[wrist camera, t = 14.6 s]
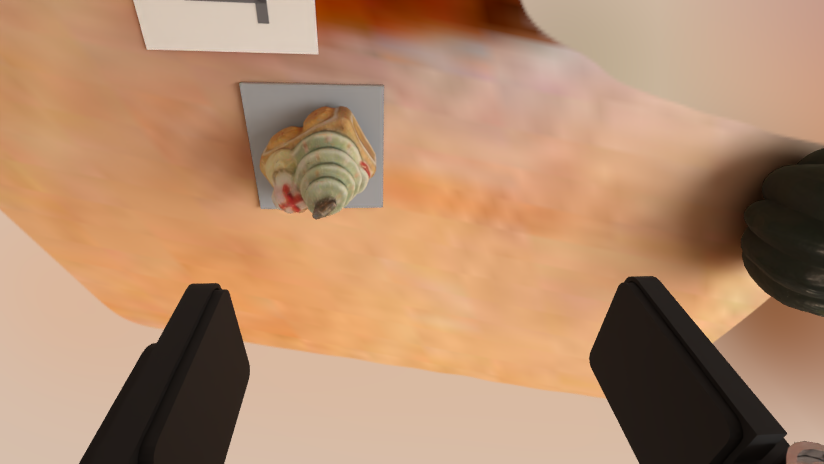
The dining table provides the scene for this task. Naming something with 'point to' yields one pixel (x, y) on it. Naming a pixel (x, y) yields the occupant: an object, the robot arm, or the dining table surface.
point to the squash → (789, 235)
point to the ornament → (319, 163)
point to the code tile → (229, 25)
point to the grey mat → (291, 106)
